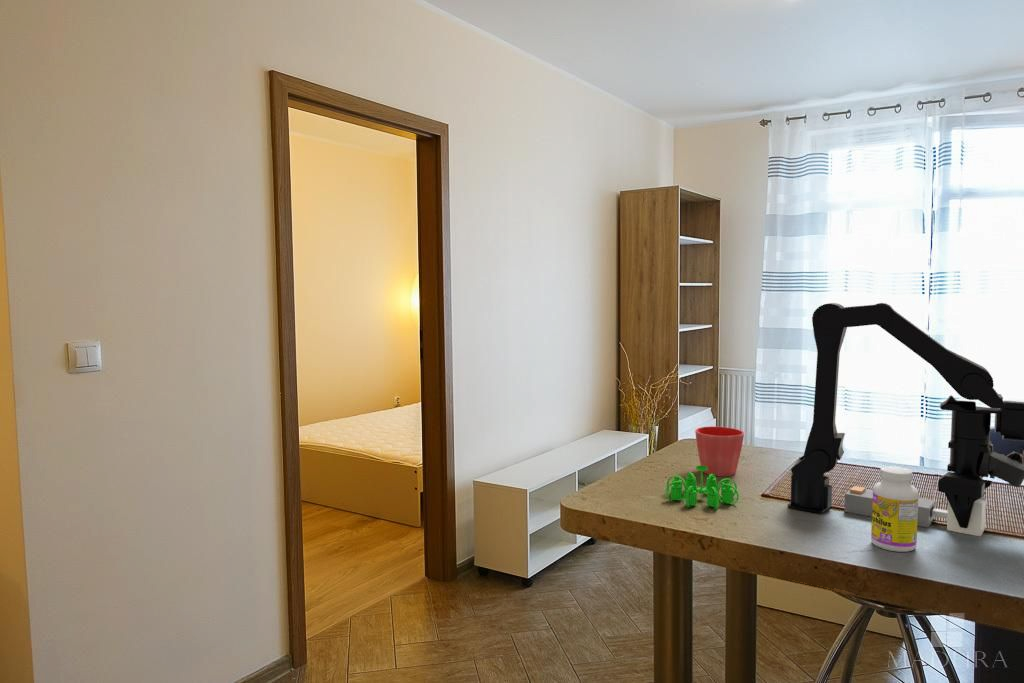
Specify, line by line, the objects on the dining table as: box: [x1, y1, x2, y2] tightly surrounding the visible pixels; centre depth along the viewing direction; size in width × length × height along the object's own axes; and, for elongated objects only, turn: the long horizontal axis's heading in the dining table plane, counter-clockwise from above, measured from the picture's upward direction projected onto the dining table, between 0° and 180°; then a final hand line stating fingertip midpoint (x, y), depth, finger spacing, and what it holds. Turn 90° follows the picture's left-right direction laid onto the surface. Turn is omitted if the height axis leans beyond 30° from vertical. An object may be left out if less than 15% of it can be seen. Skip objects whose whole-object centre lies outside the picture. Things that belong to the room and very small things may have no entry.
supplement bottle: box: [870, 466, 920, 553], centre depth 117 cm, size 7×7×13 cm
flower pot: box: [694, 426, 745, 477], centre depth 164 cm, size 11×11×10 cm
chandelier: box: [665, 465, 740, 510], centre depth 143 cm, size 15×15×7 cm
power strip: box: [844, 485, 936, 528], centre depth 132 cm, size 14×6×4 cm, turn 49°
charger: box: [932, 497, 987, 537], centre depth 125 cm, size 8×5×6 cm, turn 49°
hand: (966, 523), depth 124 cm, fingers closed on charger, 5 cm apart
